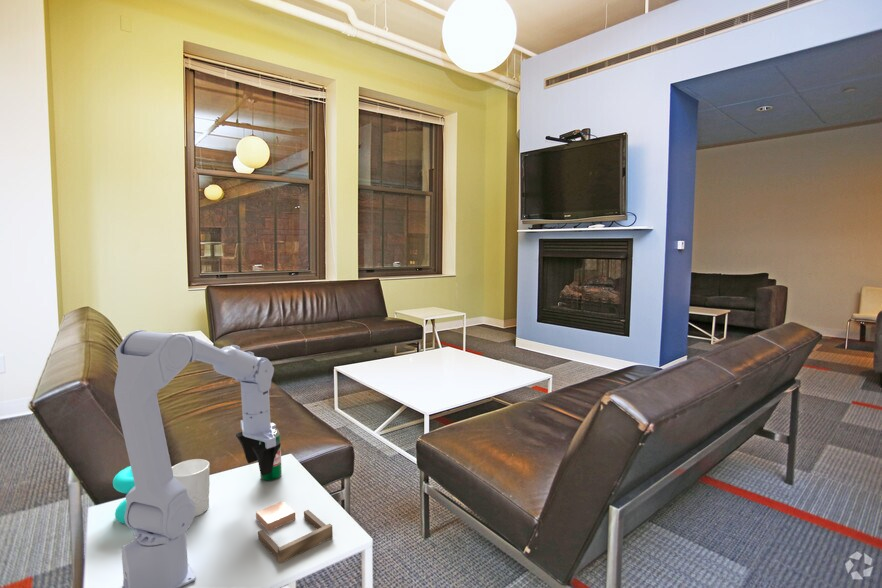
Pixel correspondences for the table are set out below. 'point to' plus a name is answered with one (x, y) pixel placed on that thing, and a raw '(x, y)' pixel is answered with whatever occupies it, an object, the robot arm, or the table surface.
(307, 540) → the wooden u-shaped frame
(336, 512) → the table surface
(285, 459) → the table surface
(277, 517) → the peach block
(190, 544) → the table surface
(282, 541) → the table surface
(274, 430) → the soda can
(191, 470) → the white cup
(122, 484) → the donuts
